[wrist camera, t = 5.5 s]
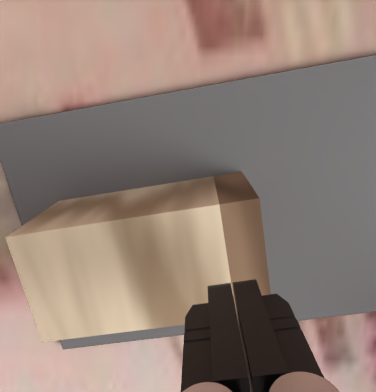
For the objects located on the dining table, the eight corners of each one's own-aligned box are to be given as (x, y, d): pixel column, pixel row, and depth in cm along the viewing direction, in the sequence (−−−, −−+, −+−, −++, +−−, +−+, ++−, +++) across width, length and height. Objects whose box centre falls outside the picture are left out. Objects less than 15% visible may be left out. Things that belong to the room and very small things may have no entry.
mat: (386, 53, 15) (391, 52, 15) (387, 305, 19) (391, 309, 18) (-7, 125, 17) (-12, 125, 16) (65, 344, 20) (62, 349, 20)
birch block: (259, 198, 12) (4, 237, 12) (272, 313, 13) (41, 342, 14) (241, 171, 16) (59, 200, 17) (253, 257, 18) (82, 281, 19)
